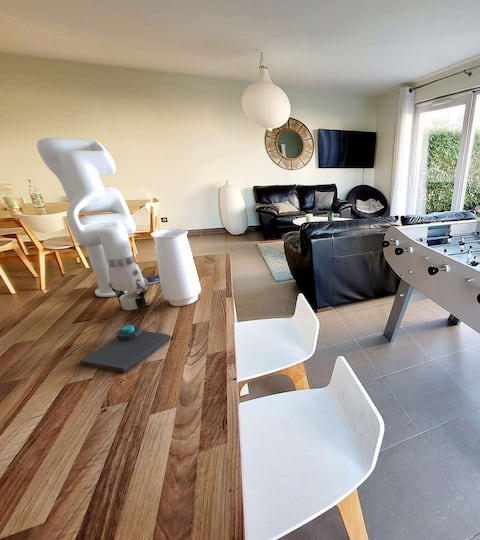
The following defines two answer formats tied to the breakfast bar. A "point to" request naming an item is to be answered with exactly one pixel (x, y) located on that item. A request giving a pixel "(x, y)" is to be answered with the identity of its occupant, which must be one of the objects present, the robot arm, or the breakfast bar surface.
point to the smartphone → (151, 279)
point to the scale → (125, 350)
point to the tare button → (128, 329)
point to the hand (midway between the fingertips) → (133, 304)
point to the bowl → (128, 301)
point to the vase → (176, 267)
